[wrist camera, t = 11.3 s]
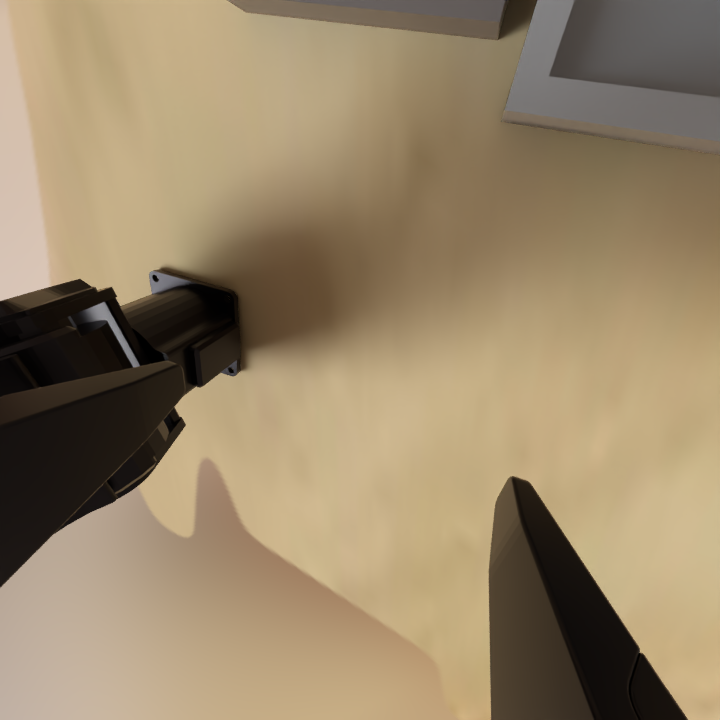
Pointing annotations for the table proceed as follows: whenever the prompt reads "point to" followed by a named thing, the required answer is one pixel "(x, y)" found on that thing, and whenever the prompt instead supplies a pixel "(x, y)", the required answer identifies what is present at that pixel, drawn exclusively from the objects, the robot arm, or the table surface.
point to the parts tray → (622, 71)
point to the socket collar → (394, 14)
